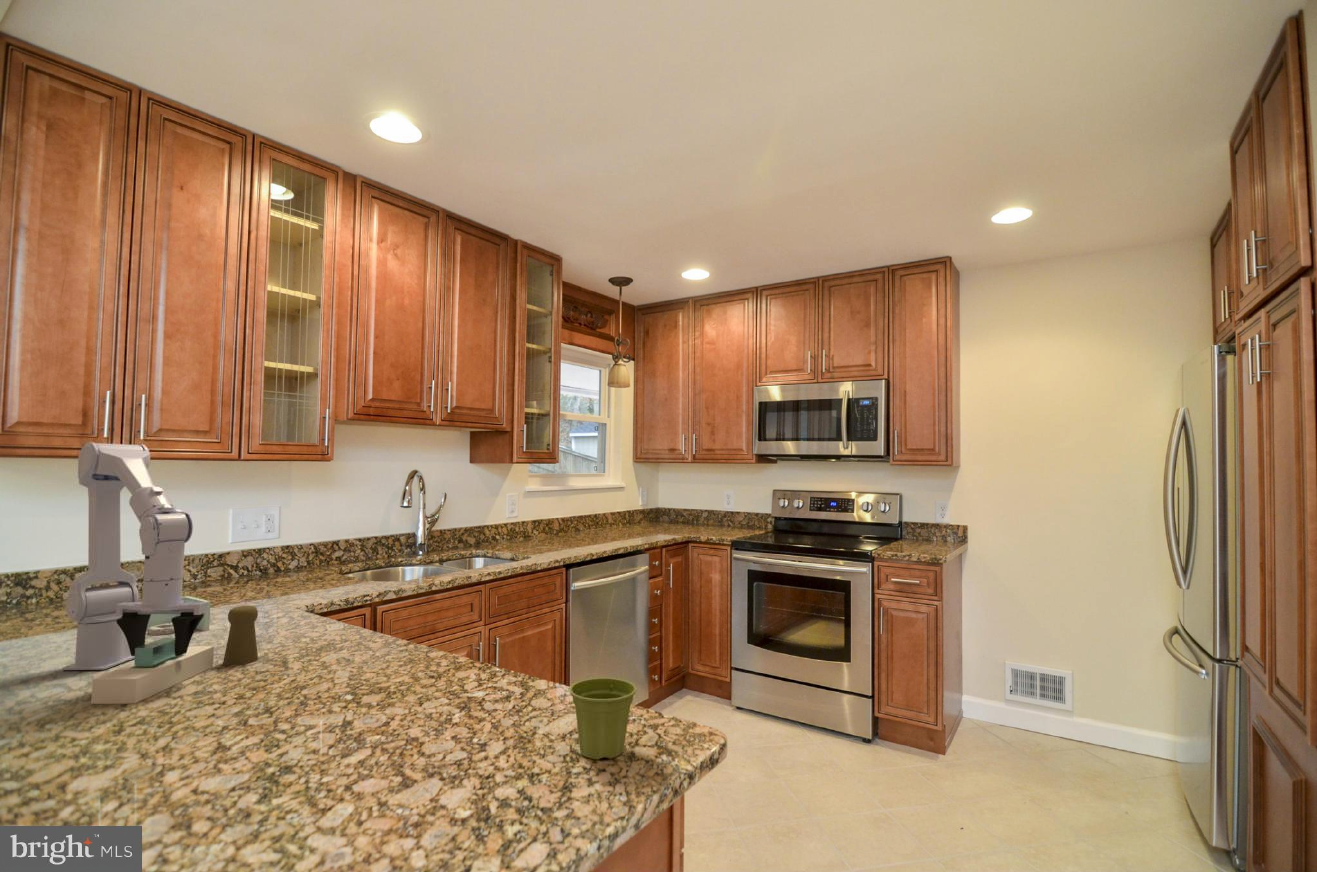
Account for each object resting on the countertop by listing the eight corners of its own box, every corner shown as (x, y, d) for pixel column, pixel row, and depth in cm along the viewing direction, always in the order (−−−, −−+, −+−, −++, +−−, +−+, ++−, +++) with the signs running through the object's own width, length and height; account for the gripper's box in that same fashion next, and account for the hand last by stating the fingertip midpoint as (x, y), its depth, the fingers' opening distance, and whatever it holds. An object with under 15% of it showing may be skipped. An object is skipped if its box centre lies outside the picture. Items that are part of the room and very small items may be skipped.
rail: (176, 667, 124) (177, 646, 125) (212, 666, 125) (213, 646, 125) (91, 703, 104) (92, 679, 105) (135, 703, 105) (136, 678, 105)
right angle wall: (127, 636, 150) (129, 604, 150) (186, 626, 160) (187, 596, 160) (149, 643, 143) (151, 609, 144) (208, 632, 154) (210, 601, 154)
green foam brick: (162, 667, 118) (164, 637, 118) (179, 667, 118) (180, 637, 118) (133, 679, 111) (135, 648, 111) (151, 679, 111) (153, 647, 111)
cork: (240, 666, 125) (243, 610, 126) (215, 664, 126) (218, 608, 127) (265, 657, 131) (267, 604, 132) (240, 655, 132) (243, 602, 133)
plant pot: (594, 732, 95) (595, 673, 95) (648, 746, 90) (648, 684, 91) (554, 755, 87) (555, 691, 87) (610, 772, 82) (611, 704, 83)
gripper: (104, 582, 111) (99, 661, 110) (189, 582, 112) (185, 660, 111) (134, 576, 118) (130, 650, 117) (215, 576, 119) (211, 649, 118)
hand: (159, 654), depth 115 cm, fingers open, 7 cm apart
